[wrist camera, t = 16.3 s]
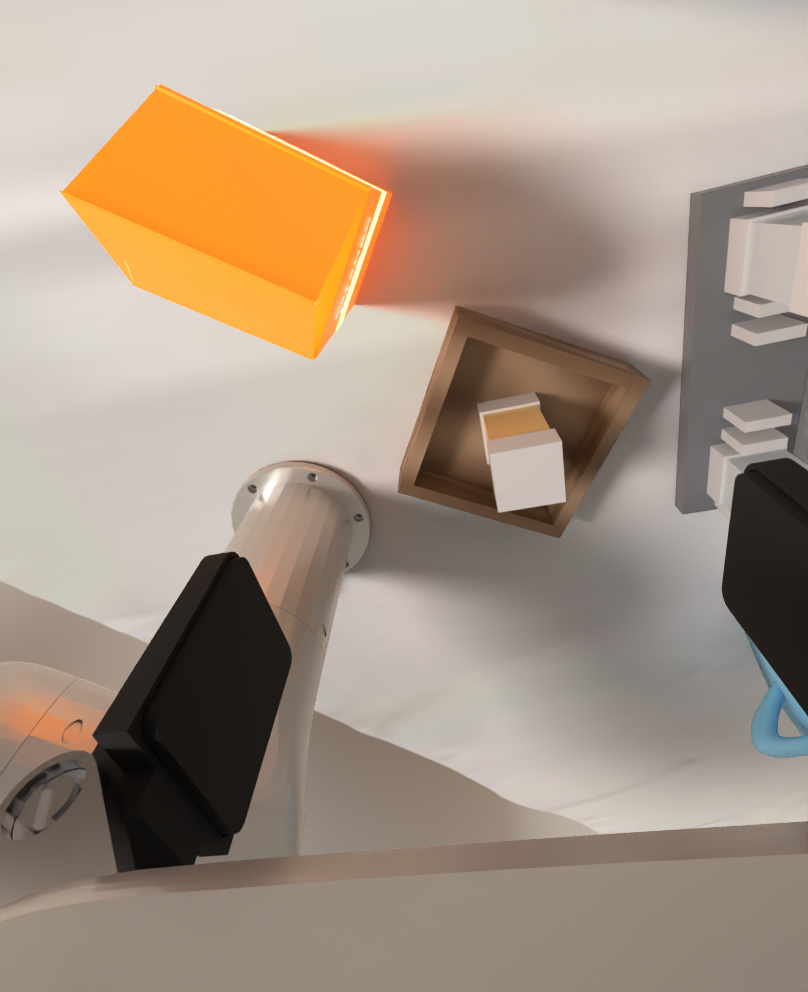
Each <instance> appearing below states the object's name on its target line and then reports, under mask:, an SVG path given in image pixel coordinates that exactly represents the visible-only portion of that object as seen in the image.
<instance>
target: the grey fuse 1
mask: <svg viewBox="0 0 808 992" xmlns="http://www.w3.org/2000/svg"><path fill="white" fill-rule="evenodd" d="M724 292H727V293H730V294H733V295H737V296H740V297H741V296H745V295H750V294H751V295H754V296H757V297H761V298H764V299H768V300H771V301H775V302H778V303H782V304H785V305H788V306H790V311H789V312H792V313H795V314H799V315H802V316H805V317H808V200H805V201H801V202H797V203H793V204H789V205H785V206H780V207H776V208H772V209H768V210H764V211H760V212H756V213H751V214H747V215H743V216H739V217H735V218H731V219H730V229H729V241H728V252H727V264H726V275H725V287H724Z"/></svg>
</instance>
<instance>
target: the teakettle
mask: <svg viewBox="0 0 808 992" xmlns="http://www.w3.org/2000/svg"><path fill="white" fill-rule="evenodd" d="M745 633H746V632H745ZM746 635H747V633H746ZM747 638H748V640H749V642H750V645H751V647H752V650H753V652H754V654H755V657H756V659H757V661H758V664H759V666H760V668H761V671H762V673H763V676H764V678H765V680H766V683H767V685H768V687H769V690H768V692H767V693H766V695H765V697H764V698H763V700H762V702H761V703H760V705H759V707H758V709H757V711H756V713H755V715H754V718H753V721H752V725H751V739H752V743H753V744H754V746H755V748H756V749H757V750H758V751H760V752H761V753H763V754H765V755H768V756H772V757H796V756H804V755H808V716H807V715H806V713H805V712H804V711H803V709H802V708H801V707H800V705H799V704H798V703H797V701H796V700H795V698H794V697H793V696H792V694H791V693H790V692H789V690H788V689H787V688H786V686H785V685H784V684H783V682H782V681H781V679H780V678H779V677H778V675H777V674H776V673H775V671H774V670H773V669H772V667H771V666H770V665H769V663H768V662H767V660H766V659H765V658H764V656H763V655H762V654H761V652H760V651H759V650H758V648H757V647H756V646H755V644H754V643H753V641H752V640H751V639H750V637H749V636H748V635H747ZM781 707H782V708H783V709H784V711H785V712H786V713H787V715H788V716H789V718H790V719H791V721H792V722H793V723H794V725H795V726H796V728H797V729H798V731H799V732H800V733H801V735H802V736H801V737H793V738H786V737H781V736H779V734H778V730H777V728H778V718H779V713H780V710H781Z"/></svg>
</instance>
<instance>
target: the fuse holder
mask: <svg viewBox="0 0 808 992" xmlns="http://www.w3.org/2000/svg"><path fill="white" fill-rule="evenodd" d="M805 200H808V165H804V166H800V167H796V168H792V169H788V170H784V171H780V172H776V173H772V174H768V175H764V176H760V177H756V178H752V179H748V180H744V181H740V182H736V183H732V184H728V185H724V186H720V187H716V188H712V189H708V190H704V191H700V192H696V193H692V194H691V199H690V219H689V239H688V259H687V279H686V299H685V319H684V339H683V359H682V378H681V398H680V418H679V438H678V458H677V478H676V498H675V506H676V507H677V508H678V509H679V511H680V512H681V513H682V514H689V513H695V512H701V511H707V510H714V509H719V510H720V511H721V512H722V513H723V514H724V515H725V516H726V517H727V518H728V519H729V521H730V515H731V512H730V511H729V510H728V509H727V508H726V507H725V506H724V505H720V506H719V505H718V504H717V503H716V502H715V501H714V500H713V499H712V498H711V497H710V496H709V495H708V494H707V483H708V472H709V460H710V448H711V446H712V445H717V444H723V443H727V444H729V445H730V446H731V447H732V448H734V449H735V450H736V451H737V452H738V453H740V454H741V455H746V454H751V453H757V452H763V451H769V450H775V449H780V448H786V447H787V451H788V452H790V453H791V454H792V455H793V449H794V444H795V438H796V432H797V427H798V421H799V416H800V410H801V404H802V399H803V393H804V388H805V382H806V376H807V371H808V317H805V316H802V315H799V314H795V313H792V312H789V311H790V306H788V305H785V304H782V303H778V302H775V301H771V300H768V299H764V298H761V297H757V296H754V295H751V294H750V295H745V296H741V297H740V296H737V295H733V294H730V293H727V292H724V287H725V275H726V264H727V252H728V241H729V229H730V219H731V218H735V217H739V216H743V215H747V214H751V213H756V212H760V211H764V210H768V209H772V208H776V207H780V206H785V205H789V204H793V203H797V202H801V201H805Z"/></svg>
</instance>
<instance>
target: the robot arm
mask: <svg viewBox="0 0 808 992" xmlns="http://www.w3.org/2000/svg"><path fill="white" fill-rule="evenodd" d="M312 473H314V474H316V475H314V474H312ZM231 517H232V526H233V529H234V533H235V534H234V536H233V538H232V540H231V541H230V543H229V545H228V546H227V548H226V550H225V552H224V553H220V554H215V555H209V556H206V557H204V558H203V559H202V561H201V562H200V564H199V566H198V567H197V569H196V570H195V572H194V574H193V575H192V577H191V578H190V580H189V582H188V583H187V585H186V586H185V588H184V589H183V591H182V593H181V594H180V596H179V597H178V599H177V601H176V602H175V604H174V605H173V607H172V609H171V610H170V612H169V613H168V615H167V617H166V618H165V620H164V621H163V623H162V624H161V626H160V628H159V629H158V631H157V632H156V634H155V636H154V637H153V639H152V640H151V642H150V644H149V645H148V647H147V649H146V650H145V652H144V653H143V655H142V656H141V658H140V660H139V661H138V663H137V664H136V666H135V667H134V669H133V671H132V672H131V674H130V676H129V677H128V679H127V680H126V682H125V683H124V685H123V687H122V688H121V690H120V691H119V693H118V692H116V691H113V690H110V689H108V688H105V687H103V686H100V685H97V684H95V683H92V682H90V681H87V680H84V679H82V678H78V677H75V676H72V675H69V674H67V673H64V672H61V671H59V670H55V669H52V668H49V667H46V666H43V665H39V664H34V663H28V662H17V661H16V662H1V663H0V992H808V821H806V822H791V823H775V824H759V825H743V826H727V827H712V828H696V829H680V830H664V831H649V832H633V833H618V834H603V835H588V836H575V837H574V836H573V837H561V838H560V837H559V838H545V839H529V840H514V841H500V842H486V843H471V844H457V845H442V846H428V847H413V848H400V849H386V850H372V851H359V852H345V853H332V854H319V855H305V856H302V850H303V838H304V825H305V824H304V823H305V795H306V794H305V793H306V767H307V754H308V744H309V736H310V730H311V723H312V717H313V711H314V706H315V701H316V696H317V691H318V687H319V682H320V677H321V673H322V669H323V664H324V660H325V656H326V651H327V647H328V642H329V638H330V633H331V629H332V624H333V620H334V615H335V611H336V607H337V602H338V598H339V593H340V589H341V584H342V580H343V575H344V572H346V571H347V570H349V569H350V568H351V567H352V566H354V565H355V564H356V563H357V562H358V561H359V559H360V558H361V557H362V556H363V554H364V552H365V550H366V547H367V545H368V541H369V536H370V526H371V524H370V517H369V512H368V510H367V507H366V504H365V502H364V501H363V499H362V497H361V496H360V494H359V493H358V492H357V490H356V489H355V488H354V487H353V486H352V485H351V484H350V483H349V482H348V481H346V480H345V479H344V478H342V477H341V476H340V475H338V474H336V473H334V472H333V471H331V470H329V469H327V468H324V467H321V466H318V465H315V464H310V463H304V462H283V463H277V464H272V465H270V466H267V467H265V468H263V469H260V470H259V471H257V472H256V473H254V474H253V475H251V476H250V477H249V478H248V479H247V480H246V482H245V483H244V484H243V485H242V487H241V488H240V490H239V491H238V493H237V495H236V497H235V500H234V502H233V506H232V513H231ZM722 594H723V598H724V601H725V604H726V606H727V607H728V609H729V610H730V612H731V613H732V614H733V616H734V617H735V618H736V620H737V621H738V622H739V624H740V625H741V626H742V628H743V629H744V631H745V632H746V633H747V635H748V636H749V637H750V639H751V640H752V641H753V643H754V644H755V646H756V647H757V648H758V650H759V651H760V652H761V654H762V655H763V656H764V658H765V659H766V660H767V662H768V663H769V665H770V666H771V667H772V669H773V670H774V671H775V673H776V674H777V675H778V677H779V678H780V679H781V681H782V682H783V684H784V685H785V686H786V688H787V689H788V690H789V692H790V693H791V694H792V696H793V697H794V698H795V700H796V701H797V703H798V704H799V705H800V707H801V708H802V709H803V711H804V712H805V713H806V715H807V716H808V470H807V469H805V468H804V467H802V466H801V465H799V464H798V463H797V462H795V461H794V460H792V459H790V458H780V459H774V460H768V461H762V462H757V463H751V464H749V465H747V467H746V468H745V470H744V473H740V474H738V475H737V476H736V478H735V482H734V489H733V498H732V506H731V515H730V523H729V531H728V540H727V548H726V557H725V565H724V574H723V582H722Z"/></svg>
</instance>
